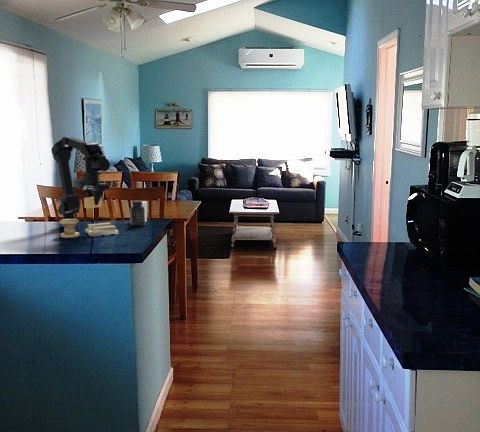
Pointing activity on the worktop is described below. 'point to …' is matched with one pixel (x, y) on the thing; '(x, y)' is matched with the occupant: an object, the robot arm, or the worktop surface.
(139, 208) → the supplement bottle
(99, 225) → the notched board
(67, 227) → the bobbin
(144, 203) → the white cup
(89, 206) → the tan rectangular block
